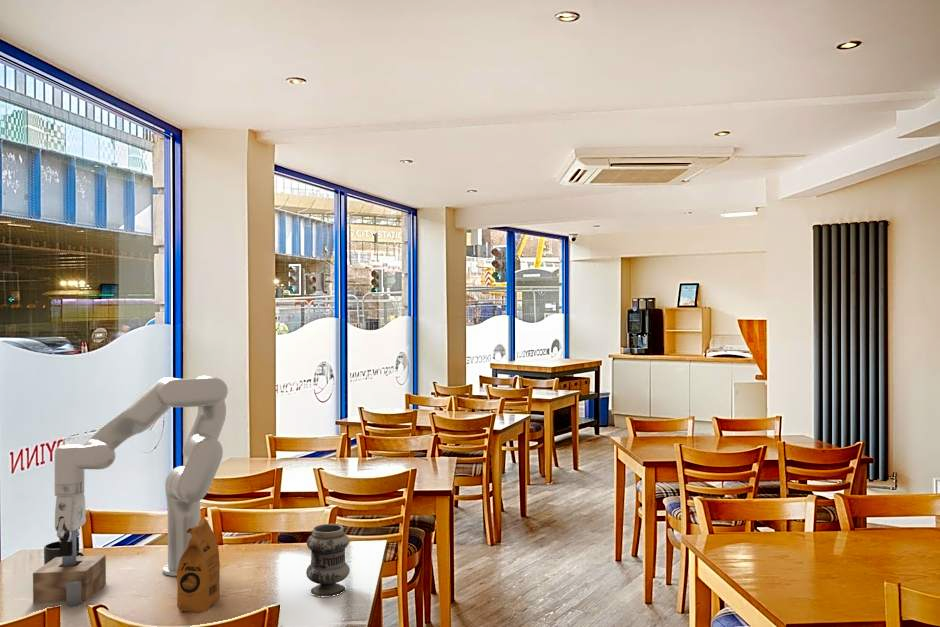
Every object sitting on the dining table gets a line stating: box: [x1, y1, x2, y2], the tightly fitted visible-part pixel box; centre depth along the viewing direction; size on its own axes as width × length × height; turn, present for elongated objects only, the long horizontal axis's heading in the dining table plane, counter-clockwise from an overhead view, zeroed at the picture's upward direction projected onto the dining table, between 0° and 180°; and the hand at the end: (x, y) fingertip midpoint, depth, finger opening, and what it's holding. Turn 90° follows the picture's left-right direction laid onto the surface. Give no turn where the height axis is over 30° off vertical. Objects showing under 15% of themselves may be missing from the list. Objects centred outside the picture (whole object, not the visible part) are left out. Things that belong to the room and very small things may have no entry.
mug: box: [43, 540, 85, 566], centre depth 233 cm, size 9×12×9 cm
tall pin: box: [62, 528, 76, 566], centre depth 218 cm, size 4×4×14 cm
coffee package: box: [176, 517, 221, 613], centre depth 207 cm, size 10×12×22 cm
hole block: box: [32, 554, 107, 603], centre depth 218 cm, size 14×14×8 cm
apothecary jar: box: [306, 523, 351, 598], centre depth 216 cm, size 12×12×18 cm
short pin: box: [66, 580, 83, 608], centre depth 208 cm, size 4×4×6 cm
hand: (69, 552), depth 218 cm, fingers closed on tall pin, 3 cm apart
